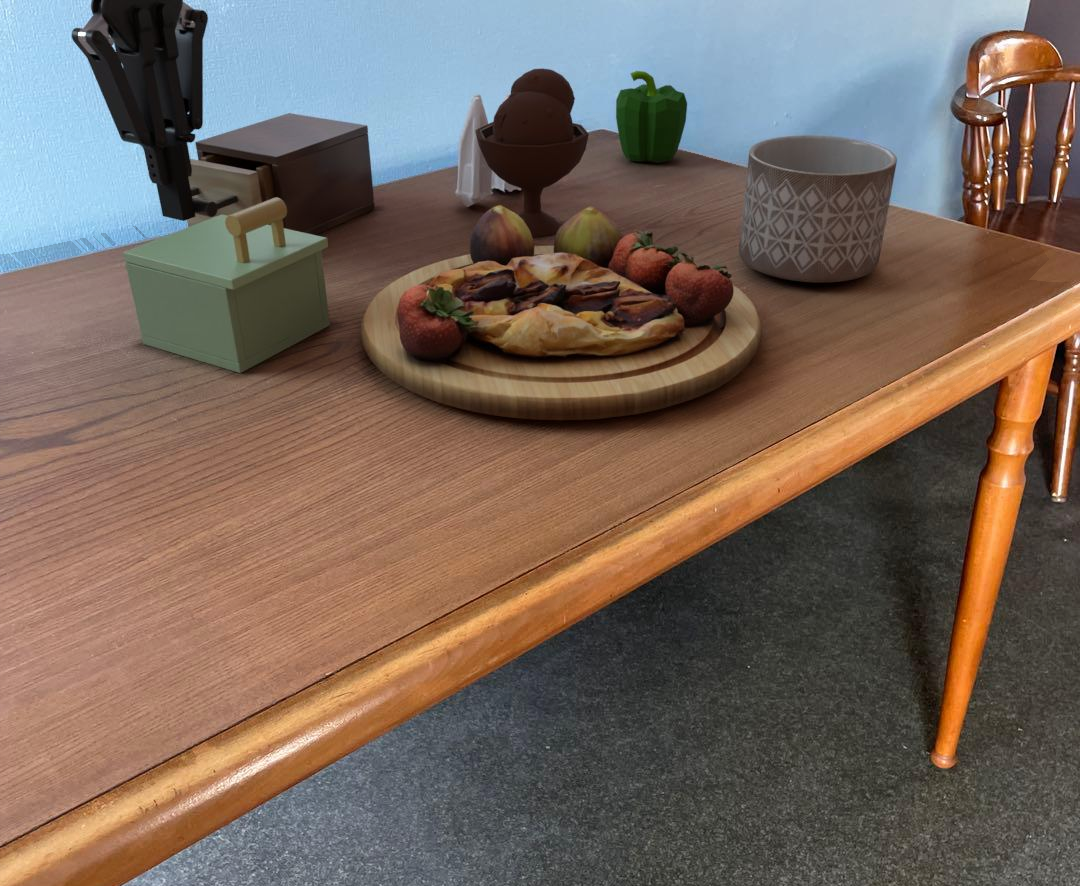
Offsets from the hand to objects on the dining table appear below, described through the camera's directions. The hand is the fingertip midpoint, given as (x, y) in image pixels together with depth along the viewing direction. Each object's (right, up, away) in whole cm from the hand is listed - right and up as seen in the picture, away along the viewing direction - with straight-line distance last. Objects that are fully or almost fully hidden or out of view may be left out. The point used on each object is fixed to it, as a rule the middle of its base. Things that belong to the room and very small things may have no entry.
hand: (179, 216), depth 101 cm
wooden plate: (+35, -13, -12) cm, 39 cm away
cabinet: (+8, +4, +13) cm, 16 cm away
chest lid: (+9, -8, -15) cm, 19 cm away
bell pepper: (+47, +16, +32) cm, 59 cm away
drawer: (+5, +1, +9) cm, 10 cm away
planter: (+58, -5, +1) cm, 58 cm away
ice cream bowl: (+33, +2, +11) cm, 34 cm away
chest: (+9, -13, -11) cm, 19 cm away
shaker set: (+28, +7, +19) cm, 34 cm away
